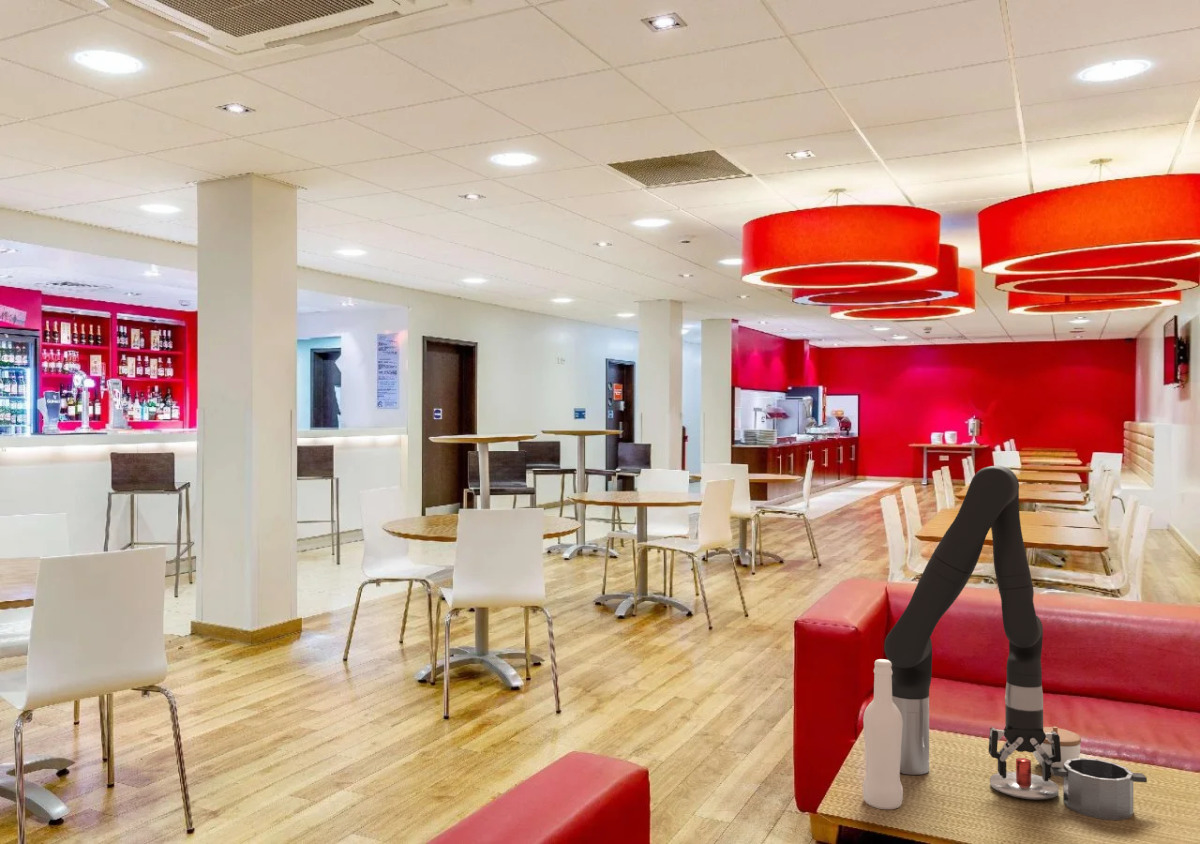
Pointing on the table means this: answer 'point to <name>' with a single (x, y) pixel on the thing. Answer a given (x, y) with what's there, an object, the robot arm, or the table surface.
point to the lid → (1024, 783)
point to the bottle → (882, 743)
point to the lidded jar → (1061, 746)
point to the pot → (1098, 788)
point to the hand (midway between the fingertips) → (1024, 778)
